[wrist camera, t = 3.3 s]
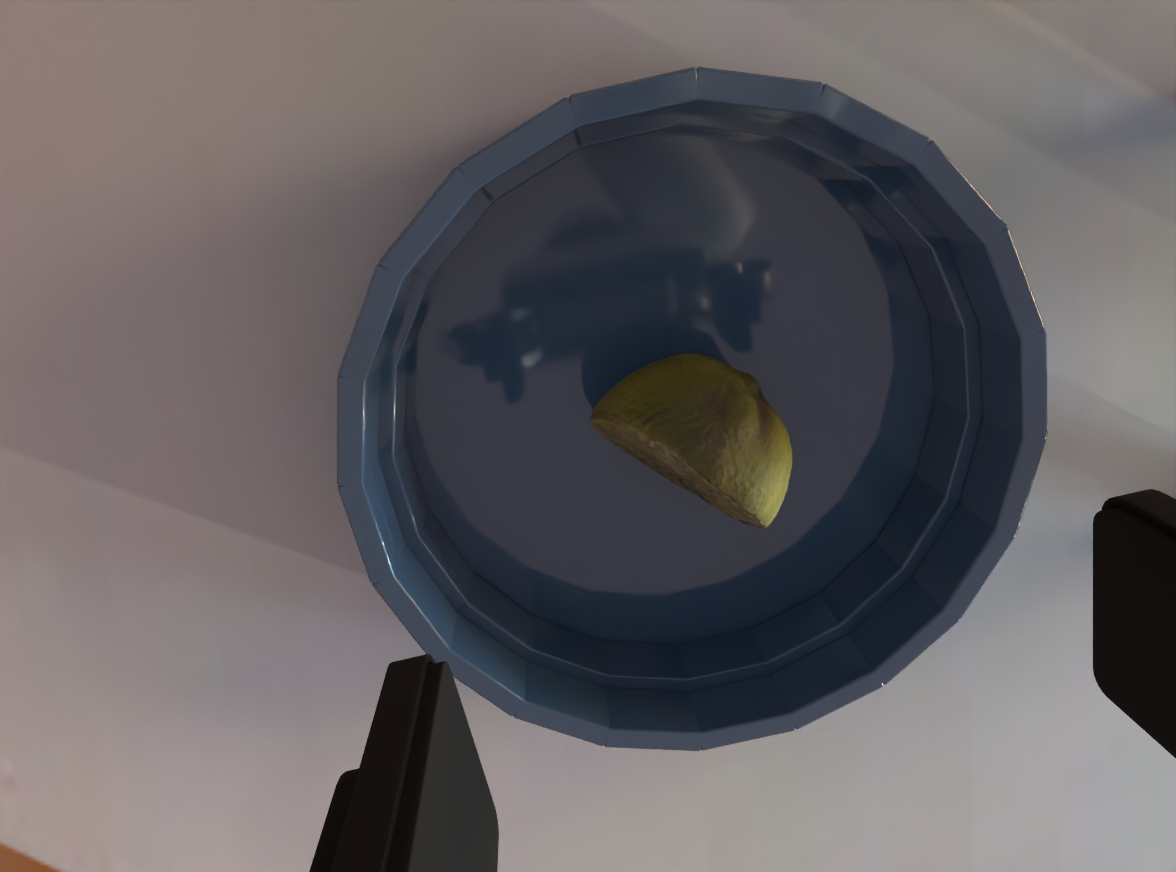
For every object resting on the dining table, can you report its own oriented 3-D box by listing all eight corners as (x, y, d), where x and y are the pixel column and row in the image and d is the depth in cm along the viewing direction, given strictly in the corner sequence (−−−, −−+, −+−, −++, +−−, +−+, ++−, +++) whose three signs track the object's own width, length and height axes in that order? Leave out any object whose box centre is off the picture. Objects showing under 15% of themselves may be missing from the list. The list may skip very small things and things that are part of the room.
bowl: (288, 171, 19) (226, 172, 15) (941, 24, 19) (1042, -13, 15) (461, 707, 24) (448, 806, 21) (970, 596, 24) (1051, 676, 20)
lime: (753, 491, 22) (812, 580, 17) (582, 491, 22) (594, 581, 17) (770, 335, 21) (839, 385, 16) (587, 332, 20) (602, 382, 15)
